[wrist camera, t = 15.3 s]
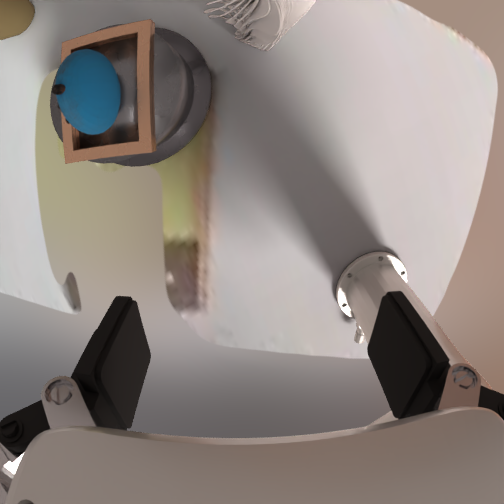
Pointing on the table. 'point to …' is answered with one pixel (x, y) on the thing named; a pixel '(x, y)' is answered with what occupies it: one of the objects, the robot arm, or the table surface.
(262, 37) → the shell sculpture
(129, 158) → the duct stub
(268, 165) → the table surface
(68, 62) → the ornament
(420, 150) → the table surface
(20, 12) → the squeeze bottle
